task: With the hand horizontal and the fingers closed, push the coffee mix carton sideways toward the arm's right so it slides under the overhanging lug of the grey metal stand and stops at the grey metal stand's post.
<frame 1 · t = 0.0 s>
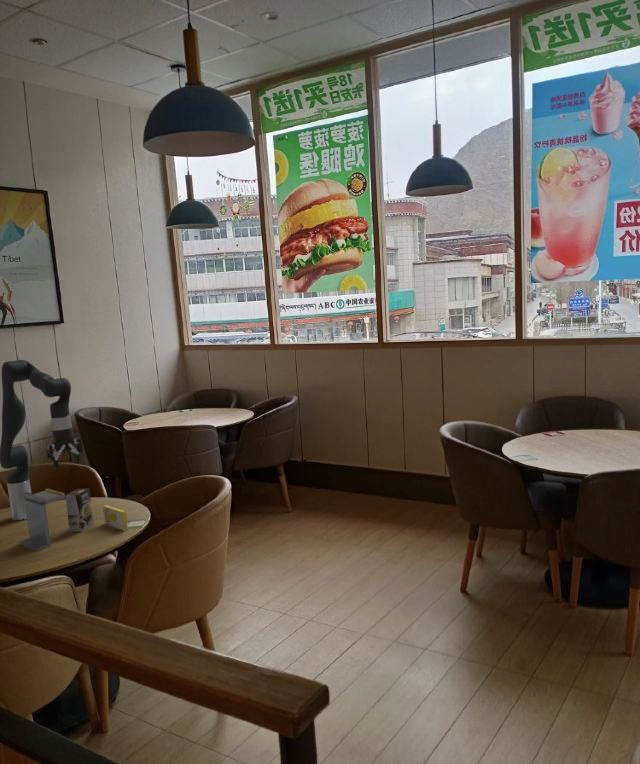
hand: (66, 466, 252), 29 cm above the table, tool pointing down, fingers open, 8 cm apart
grey metal stand: (40, 542, 250), on the table
coffee box: (82, 528, 264), on the table
candy box: (116, 527, 262), on the table
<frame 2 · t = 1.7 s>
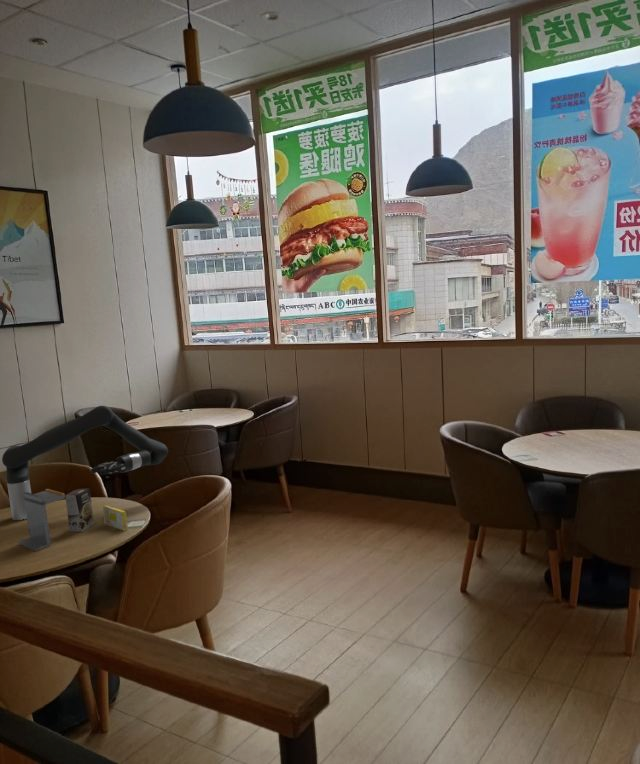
hand: (96, 472, 268), 22 cm above the table, tool horizontal, fingers open, 6 cm apart
nothing on the table moved.
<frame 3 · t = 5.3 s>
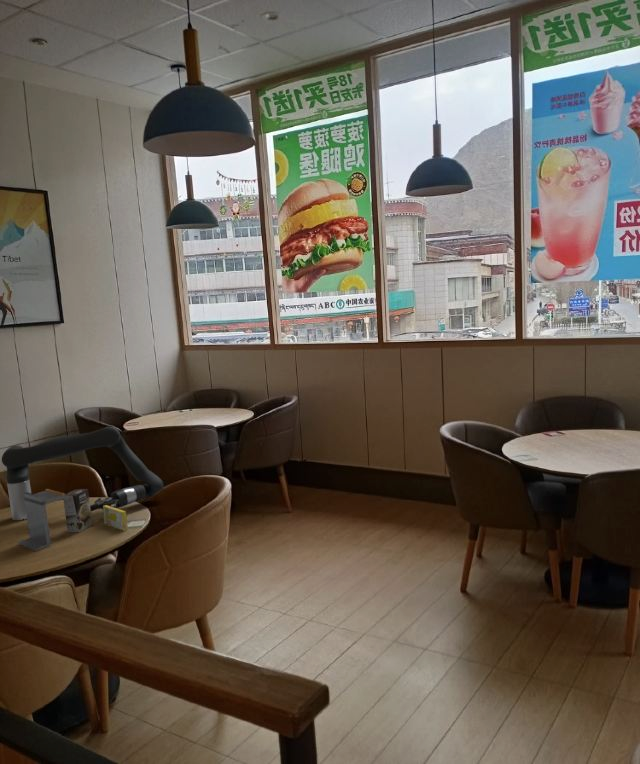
hand: (89, 508, 266), 7 cm above the table, tool horizontal, fingers closed
coffee box: (80, 528, 263), on the table, touching gripper
everything else where it was.
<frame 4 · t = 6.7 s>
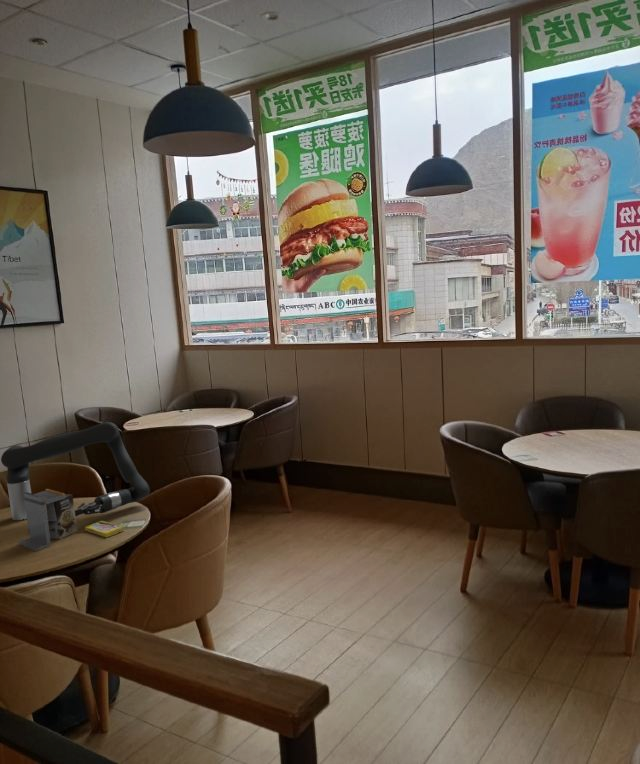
hand: (72, 514, 260), 7 cm above the table, tool horizontal, fingers closed
coffee box: (64, 534, 257), on the table, touching gripper
candy box: (113, 525, 261), point 1 cm above the table
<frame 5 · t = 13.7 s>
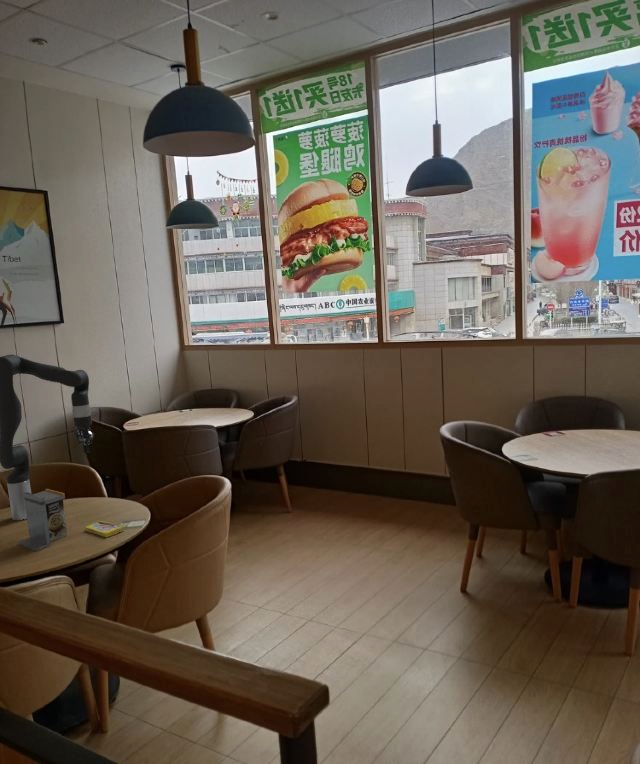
hand: (86, 453, 276), 29 cm above the table, tool pointing down, fingers closed
coffee box: (53, 538, 254), on the table
everything else where it was.
at the end: coffee box inside the target area (0.4 cm from its centre), on the table; coffee box tilted 0°; coffee box moved 12.7 cm from its start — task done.
